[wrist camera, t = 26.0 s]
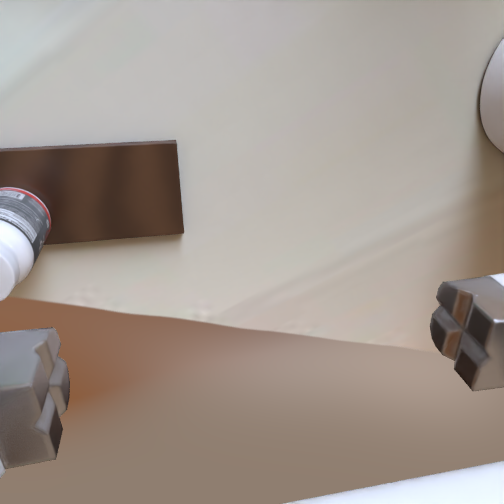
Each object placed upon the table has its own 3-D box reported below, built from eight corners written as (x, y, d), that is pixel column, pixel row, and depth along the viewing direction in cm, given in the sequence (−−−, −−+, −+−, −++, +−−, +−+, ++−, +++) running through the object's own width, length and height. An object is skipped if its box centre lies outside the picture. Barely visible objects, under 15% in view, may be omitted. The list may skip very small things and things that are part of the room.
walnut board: (176, 139, 38) (176, 142, 37) (183, 229, 42) (184, 233, 41) (-83, 152, 35) (-89, 156, 34) (-48, 247, 39) (-53, 253, 38)
